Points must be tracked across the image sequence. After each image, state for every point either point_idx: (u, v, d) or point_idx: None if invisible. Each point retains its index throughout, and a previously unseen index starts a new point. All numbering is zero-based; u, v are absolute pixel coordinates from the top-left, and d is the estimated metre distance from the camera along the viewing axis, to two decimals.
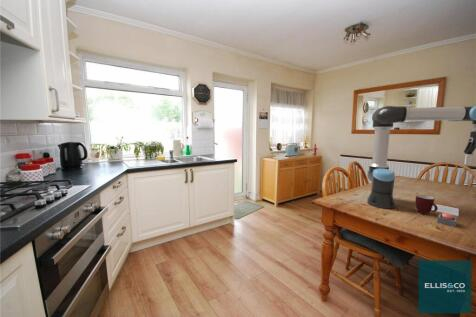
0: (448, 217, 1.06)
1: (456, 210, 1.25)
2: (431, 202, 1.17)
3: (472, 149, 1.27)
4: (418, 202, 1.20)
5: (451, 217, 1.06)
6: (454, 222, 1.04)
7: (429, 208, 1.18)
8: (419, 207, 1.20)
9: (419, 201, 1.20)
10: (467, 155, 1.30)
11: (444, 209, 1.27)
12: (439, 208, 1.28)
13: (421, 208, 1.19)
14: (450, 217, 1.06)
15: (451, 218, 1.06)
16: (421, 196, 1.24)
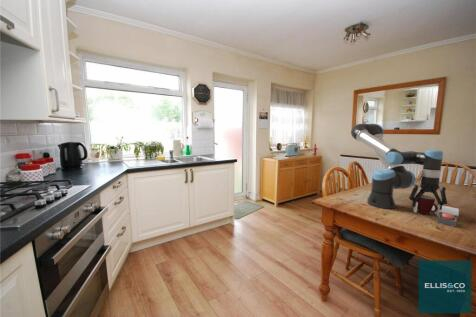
0: (448, 217, 1.06)
1: (456, 210, 1.25)
2: (431, 202, 1.17)
3: (435, 197, 1.18)
4: (418, 202, 1.20)
5: (451, 217, 1.06)
6: (454, 222, 1.04)
7: (429, 208, 1.18)
8: (419, 207, 1.20)
9: (420, 201, 1.20)
10: (436, 204, 1.19)
11: (444, 209, 1.27)
12: None
13: (422, 207, 1.19)
14: (450, 217, 1.06)
15: (451, 218, 1.06)
16: (422, 196, 1.24)
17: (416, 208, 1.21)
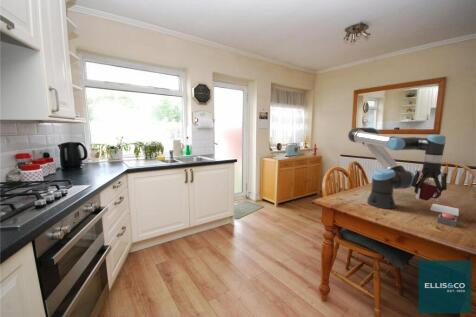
0: (448, 217, 1.06)
1: (456, 210, 1.25)
2: (434, 189, 1.16)
3: (436, 183, 1.17)
4: (421, 188, 1.19)
5: (451, 217, 1.06)
6: (454, 222, 1.04)
7: (431, 194, 1.17)
8: (421, 193, 1.20)
9: (422, 187, 1.18)
10: None
11: (444, 209, 1.27)
12: (439, 208, 1.28)
13: (423, 193, 1.18)
14: (450, 217, 1.06)
15: (451, 218, 1.06)
16: (425, 182, 1.23)
17: (418, 194, 1.20)
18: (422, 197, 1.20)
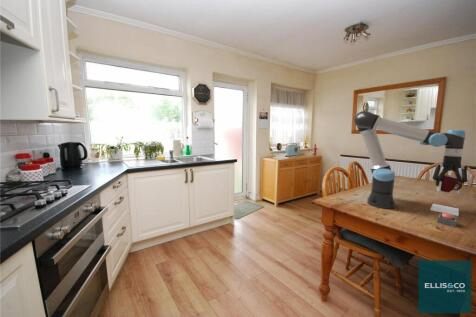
0: (448, 217, 1.06)
1: (456, 210, 1.25)
2: (456, 181, 1.21)
3: (456, 175, 1.23)
4: (442, 180, 1.25)
5: (451, 217, 1.06)
6: (454, 222, 1.04)
7: (452, 187, 1.22)
8: (442, 185, 1.25)
9: (444, 179, 1.24)
10: None
11: (444, 209, 1.27)
12: (439, 208, 1.28)
13: (445, 186, 1.24)
14: (450, 217, 1.06)
15: (451, 218, 1.06)
16: (445, 176, 1.28)
17: (440, 187, 1.26)
18: (443, 189, 1.25)
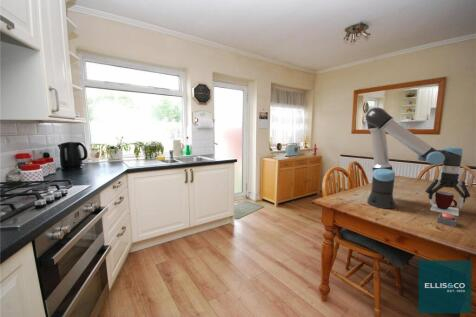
0: (448, 217, 1.06)
1: (456, 210, 1.25)
2: (451, 198, 1.23)
3: (457, 191, 1.23)
4: (438, 198, 1.27)
5: (451, 217, 1.06)
6: (454, 222, 1.04)
7: (449, 204, 1.24)
8: (439, 203, 1.27)
9: (439, 197, 1.26)
10: (459, 197, 1.24)
11: None
12: None
13: (441, 203, 1.26)
14: (450, 217, 1.06)
15: (451, 218, 1.06)
16: (440, 192, 1.30)
17: (432, 200, 1.28)
18: (440, 207, 1.27)
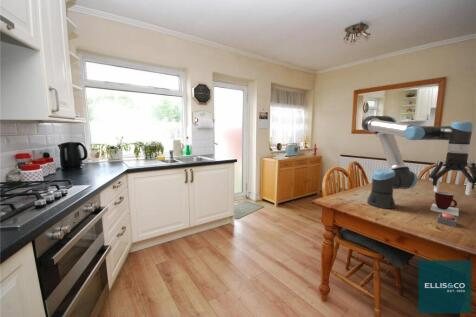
0: (448, 217, 1.06)
1: (456, 210, 1.25)
2: (451, 198, 1.23)
3: (465, 175, 1.03)
4: (438, 198, 1.27)
5: (451, 217, 1.06)
6: (454, 222, 1.04)
7: (448, 204, 1.24)
8: (438, 203, 1.27)
9: (439, 197, 1.26)
10: (467, 183, 1.04)
11: None
12: None
13: (441, 203, 1.26)
14: (450, 217, 1.06)
15: (451, 218, 1.06)
16: (440, 192, 1.30)
17: (437, 187, 1.07)
18: (440, 207, 1.27)
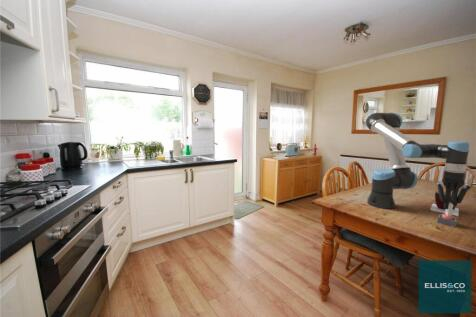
0: (448, 218, 1.07)
1: (456, 210, 1.25)
2: None
3: (453, 195, 1.06)
4: (438, 198, 1.27)
5: (451, 218, 1.06)
6: (454, 222, 1.04)
7: None
8: (438, 203, 1.27)
9: (439, 197, 1.26)
10: None
11: None
12: None
13: (441, 203, 1.26)
14: (450, 218, 1.06)
15: (451, 219, 1.06)
16: None
17: (449, 210, 1.06)
18: (440, 207, 1.27)
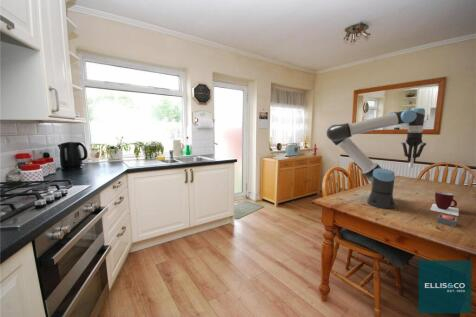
0: None
1: (456, 210, 1.25)
2: (451, 198, 1.23)
3: (413, 151, 1.36)
4: (438, 198, 1.27)
5: (451, 219, 1.06)
6: (454, 222, 1.04)
7: (449, 204, 1.24)
8: (438, 203, 1.27)
9: (439, 197, 1.26)
10: None
11: None
12: None
13: (441, 203, 1.26)
14: (450, 219, 1.06)
15: None
16: (440, 192, 1.30)
17: (411, 163, 1.36)
18: (440, 207, 1.27)
